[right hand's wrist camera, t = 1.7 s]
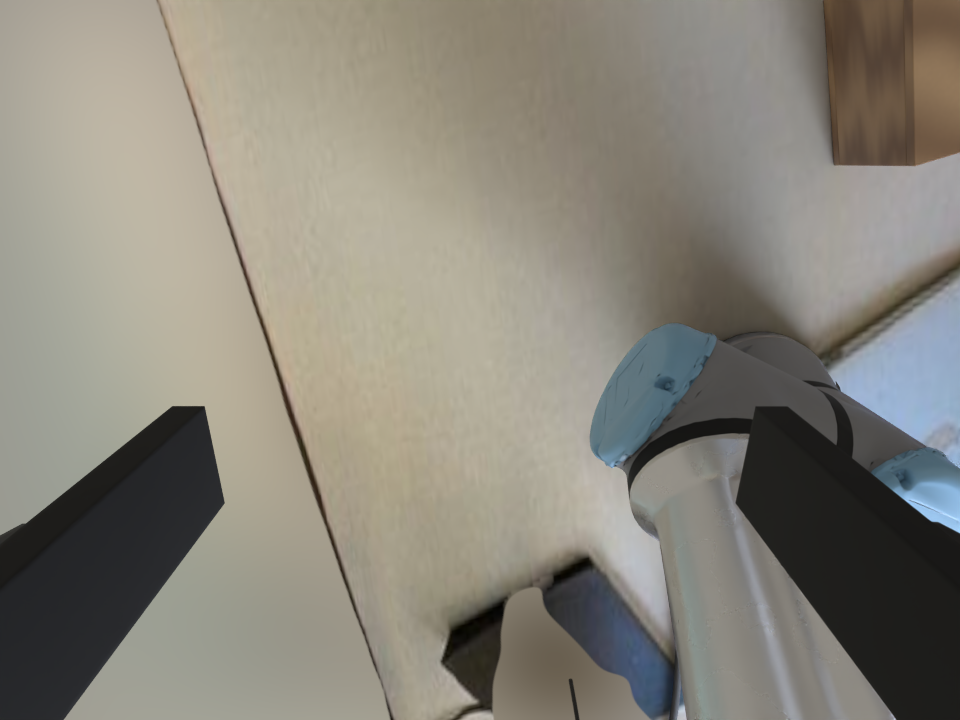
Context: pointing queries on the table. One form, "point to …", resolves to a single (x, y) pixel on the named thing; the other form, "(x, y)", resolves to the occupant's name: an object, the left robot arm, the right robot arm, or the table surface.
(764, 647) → the left robot arm
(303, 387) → the table surface
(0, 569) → the right robot arm
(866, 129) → the cabinet
